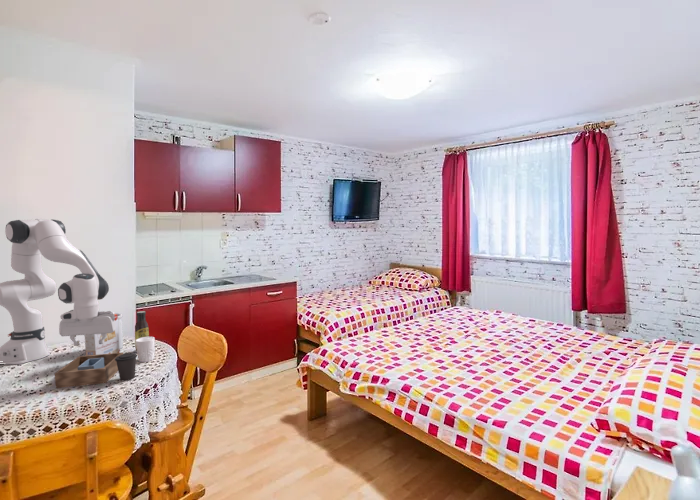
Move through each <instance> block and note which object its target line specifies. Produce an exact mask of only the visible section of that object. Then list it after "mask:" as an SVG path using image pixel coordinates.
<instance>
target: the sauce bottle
mask: <svg viewBox="0 0 700 500" xmlns="http://www.w3.org/2000/svg"><path fill="white" fill-rule="evenodd" d="M146 314H147V312H146V311H145V310H143V311H137V312H136V322H135V325H134V345H135V346H134V348H135V352H136V353H137V348H136V340H137V339H139V338H142V337H150V332H149V331H150V330H149V329H150V328H149V324H148V322H147V320H146V319H147V318H146Z"/></svg>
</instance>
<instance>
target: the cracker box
mask: <svg viewBox="0 0 700 500" xmlns="http://www.w3.org/2000/svg"><path fill="white" fill-rule="evenodd" d="M114 315H115V320H114V321H115V325H116V329H115V331H114V332H112V333H107V335H106V337H105V339H104V344H99V340H100V339H102V337H103V336H101V334H91V335H84V349H85V356H88V355H99V354H111V353H121V352H120V350H121V349H119V333H118V316H117V314H114Z"/></svg>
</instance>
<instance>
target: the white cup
mask: <svg viewBox="0 0 700 500" xmlns="http://www.w3.org/2000/svg"><path fill="white" fill-rule="evenodd" d="M155 339H156V338H155V337H154V336H149V337H142V338H139V339H137V340H136V348H137V352H136V355H137V359H138V361H137V362H140V363H147V362H150V361H153V360H154V359H155V351H156V350H155V347H156V345H155V344H156V343H155ZM136 348H135V349H136Z"/></svg>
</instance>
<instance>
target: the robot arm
mask: <svg viewBox="0 0 700 500" xmlns="http://www.w3.org/2000/svg"><path fill="white" fill-rule="evenodd" d="M4 233H5V237H6V238H7V240H8V241H9V242H10V243H12V245H11V255H10V256H11V257H10V266H11V269H12V270H13V271H14V272H17V273H19V274H21V275H22V274H23V275H24V278H23V279H22V278H21V279H16V280H7V281H2V282H0V306H1V307H3V308H4V309H6V310H7V312H8V313H9V314H10V316H11V319H12V326H13V331H12V332H9V333H8V334H7V337H10V338H9V339H8V341H6V342H5V343H3V344H2V345H1V346H0V361H3V362H0V363H6V364H5V365H21V364H26V363H30V362H31V361H32V362H33V361H37V360H40V359H43V358H45V357H47V356H49V355H50V354H51V352H50V351H49V349H48V346H47V343H46V332H45V331H46V330H45V326H44V324H43V323H44V321H43V314H42V313H43V312H41V310H39V309H37V308H34V307H30V306H29V305H28V302H31V301H37V300H43V299H45V298H49V297H50V296H54V295H55V293H56V291H57V296H58V300H59V301H61V303H62V302H63V303H65V304H71V305H72V304H73V309H71V310H68V311H66V312H63V313H62V314H61V315H60V321H59V324H58V329H59V330H58V331H59V333H58V334H59V335H60V336H61V337H69V339H70V341H71V342H72V343H73V347H77V346H80V345H81V343H80V340H78V339H77V336H85V335H91V334H101V336H103V337H102V339H100V340H99V344H104V339H105V337H106V335H107V333H112V332H114V331H115V329H116V325H115V321H114V320H115V315H114V313H115V312H112V311H110V310H107V311H100V303H99V300H103V299H104V298H105V297H106V296H107V295H108V293H109V290H110V289H109V288H110V287H109V283H108V282H107V281H106V280H105V278H103V276H102V275H101V274H100V273H99V271H98V270H97V269H96V268H95V266H94V265H93V263H92V262H91V260H90V259H89V258H88V257H87V255H86V254H85V253H84V251H82V250H81V249H79V248H77V247H75V246H74V245H73V243H71V242H70V241H69V240H68V237H67V235H66V226H65V223H63V222H62V221H61V220H58V219H45V218H35V219H16V220H11V221H9V222H8V223H6V225H5V230H4ZM42 257H43V258H44V259H46V260H47V261H50V262H54V263H61V264H65V265H66V264H67V265H70V266H74V267H76V268H77V269H79V271H80V273H77V274H75V275H73V277H72V278H71V279H70V280H68V281H65V282H62V283H61V284H60V285H59V287H57V283H56V281H55V280H54V279H53V278H51V277H50V276H48V275H47V274H46V273H45V272H44V269H43V266H42V265H43V263H42ZM110 313H112V314H110Z"/></svg>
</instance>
